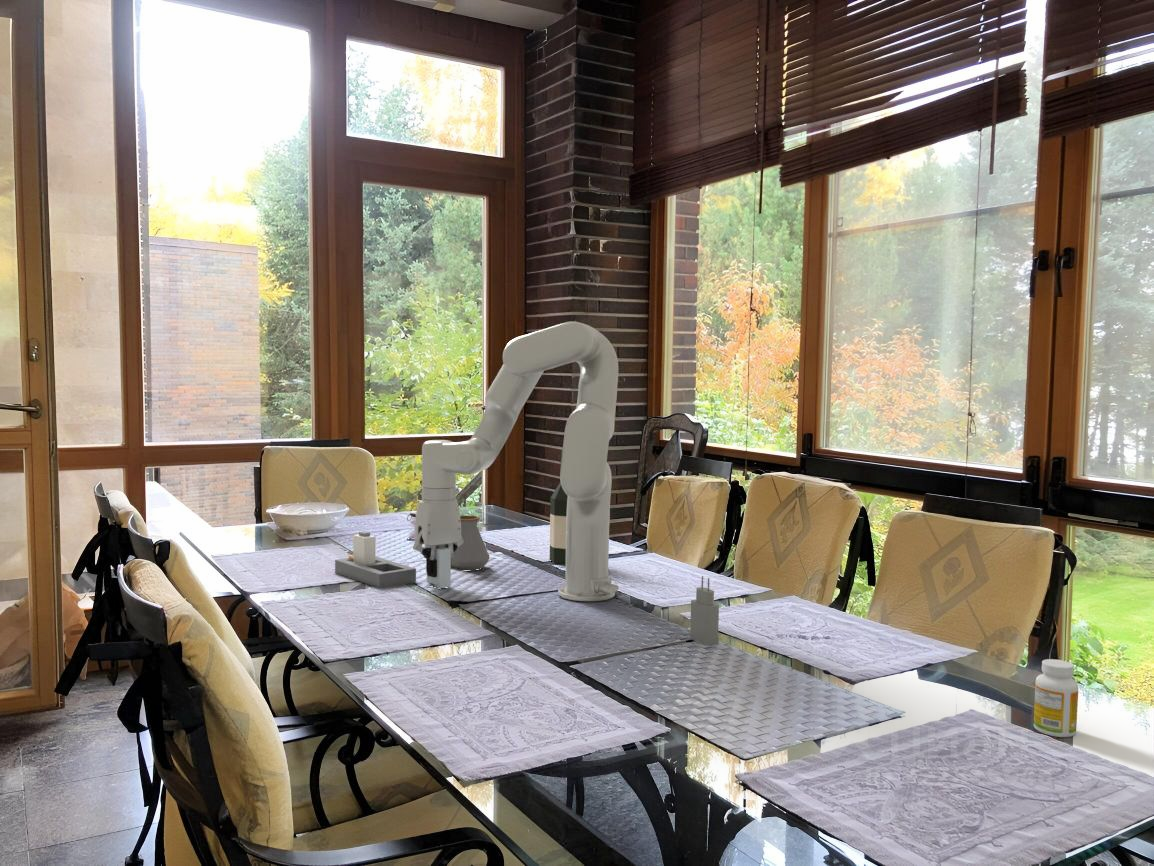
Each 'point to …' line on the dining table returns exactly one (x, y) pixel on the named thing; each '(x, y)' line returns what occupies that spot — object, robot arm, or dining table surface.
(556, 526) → the wine bottle
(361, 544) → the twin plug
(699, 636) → the power adapter
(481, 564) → the coffee pot
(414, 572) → the grey socket block
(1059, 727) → the supplement bottle
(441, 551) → the plug
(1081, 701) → the dining table surface
